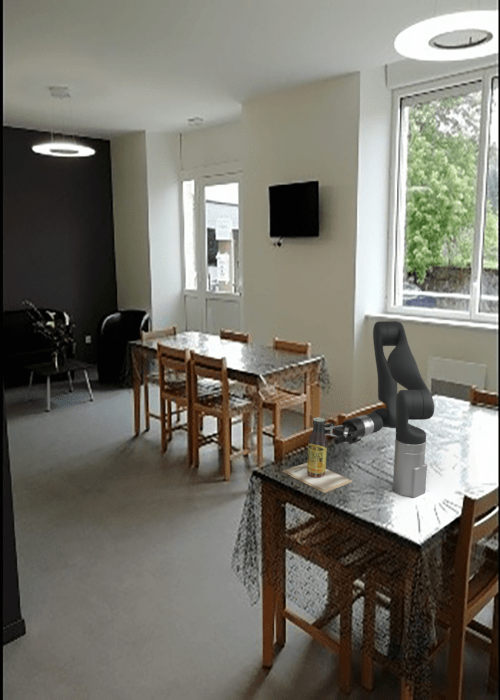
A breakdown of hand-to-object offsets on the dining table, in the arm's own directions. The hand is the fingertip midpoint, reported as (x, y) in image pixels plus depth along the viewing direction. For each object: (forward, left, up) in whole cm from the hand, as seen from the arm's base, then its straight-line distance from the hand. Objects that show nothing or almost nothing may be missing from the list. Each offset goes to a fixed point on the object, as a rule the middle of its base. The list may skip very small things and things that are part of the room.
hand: (325, 437), depth 188 cm
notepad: (0, +4, -13) cm, 14 cm away
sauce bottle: (0, +4, -13) cm, 13 cm away
